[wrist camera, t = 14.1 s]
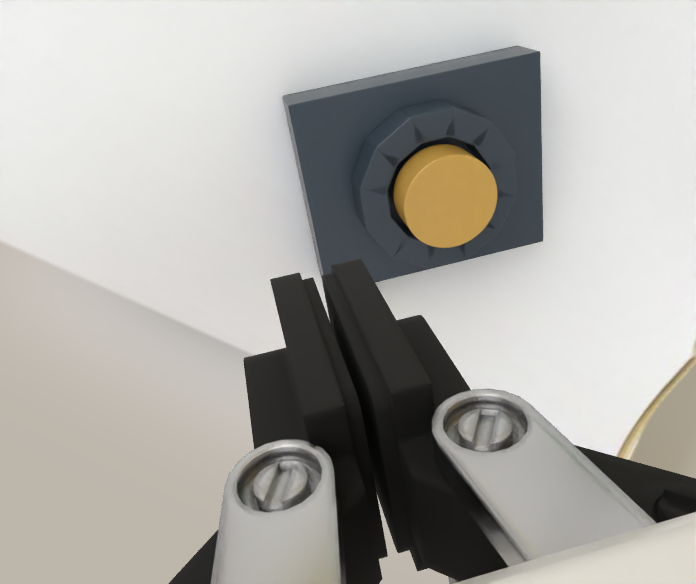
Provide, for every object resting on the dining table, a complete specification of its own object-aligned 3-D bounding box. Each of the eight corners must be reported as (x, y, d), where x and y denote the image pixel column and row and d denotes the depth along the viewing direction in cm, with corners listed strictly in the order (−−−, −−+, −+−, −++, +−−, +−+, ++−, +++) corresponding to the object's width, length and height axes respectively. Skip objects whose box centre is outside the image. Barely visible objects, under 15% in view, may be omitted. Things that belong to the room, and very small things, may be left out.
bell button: (399, 241, 28) (410, 258, 27) (387, 154, 26) (398, 167, 25) (484, 221, 28) (500, 236, 27) (478, 134, 26) (495, 144, 25)
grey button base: (320, 274, 32) (334, 312, 29) (282, 95, 28) (293, 115, 24) (524, 225, 33) (561, 256, 30) (518, 45, 29) (561, 56, 25)
